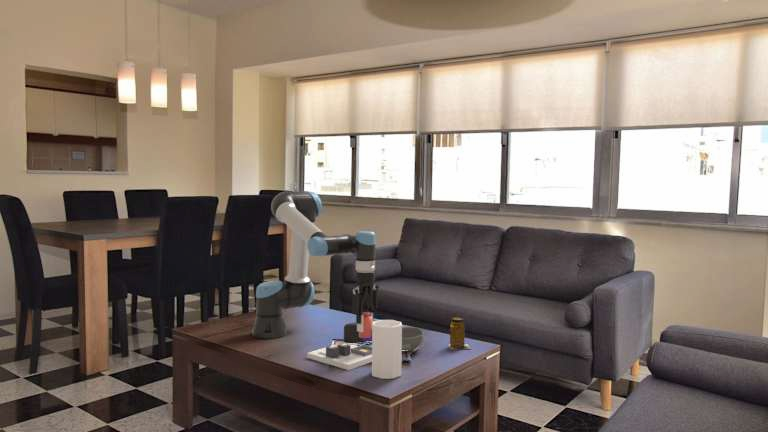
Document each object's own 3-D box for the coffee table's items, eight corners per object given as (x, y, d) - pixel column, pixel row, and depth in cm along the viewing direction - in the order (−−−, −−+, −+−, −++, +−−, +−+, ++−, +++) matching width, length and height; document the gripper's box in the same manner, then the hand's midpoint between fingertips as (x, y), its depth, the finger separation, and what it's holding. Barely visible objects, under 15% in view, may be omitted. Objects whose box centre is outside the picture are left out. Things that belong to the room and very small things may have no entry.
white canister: (366, 377, 200) (366, 325, 199) (377, 367, 210) (378, 318, 209) (395, 381, 196) (396, 328, 195) (406, 371, 206) (406, 321, 205)
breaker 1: (325, 356, 216) (325, 346, 216) (331, 354, 219) (331, 344, 219) (333, 358, 214) (333, 348, 214) (338, 356, 216) (338, 346, 216)
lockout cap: (356, 336, 222) (356, 313, 221) (364, 334, 226) (364, 311, 225) (365, 338, 218) (365, 315, 218) (374, 336, 222) (374, 313, 222)
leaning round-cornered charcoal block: (348, 348, 234) (348, 326, 234) (342, 345, 238) (343, 323, 238) (380, 342, 244) (381, 321, 243) (374, 340, 248) (375, 318, 247)
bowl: (373, 353, 228) (374, 333, 227) (388, 342, 244) (388, 324, 244) (416, 358, 222) (417, 338, 221) (428, 347, 238) (429, 328, 238)
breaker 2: (337, 354, 219) (337, 344, 219) (342, 352, 222) (342, 342, 222) (344, 356, 217) (345, 346, 217) (350, 354, 219) (350, 344, 219)
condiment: (448, 344, 242) (448, 316, 242) (468, 344, 242) (468, 317, 242) (450, 349, 235) (450, 320, 234) (470, 349, 235) (471, 321, 234)
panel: (307, 357, 221) (307, 349, 221) (343, 346, 236) (343, 338, 236) (348, 370, 207) (348, 360, 207) (383, 357, 222) (383, 349, 222)
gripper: (356, 274, 211) (356, 336, 213) (387, 269, 225) (386, 327, 227) (342, 272, 216) (342, 332, 217) (373, 267, 230) (372, 324, 231)
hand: (364, 330), depth 222 cm, fingers closed on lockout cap, 5 cm apart
